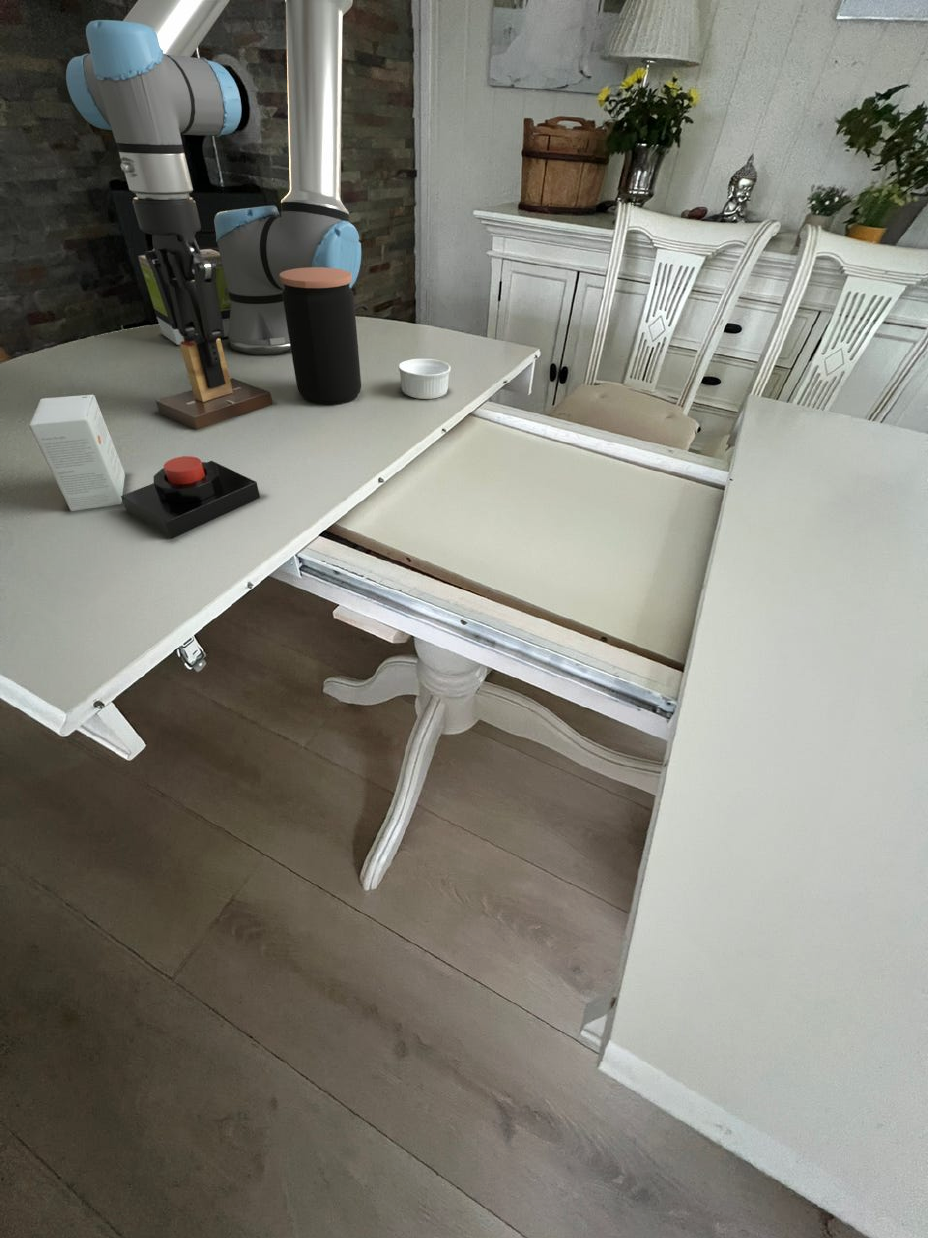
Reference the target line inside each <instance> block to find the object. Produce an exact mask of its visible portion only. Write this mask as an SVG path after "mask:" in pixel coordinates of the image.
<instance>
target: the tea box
mask: <svg viewBox="0 0 928 1238" xmlns="http://www.w3.org/2000/svg"><path fill="white" fill-rule="evenodd" d="M200 252H201V256H202V257H203V258H204V259H205V260H206V261H214V263H215V264H216V285H217V291H218V297H219V304H220V310H221V316H222V322H223V329H224V337H221V338H229V337H228V336H229V323H230V310H231V302H230V297H229V292H228V288H227V284H226V279H225V275H224V270H223V266H222V262H221V257H220V253H219V251H218V250H217V251H216V250H213V249H212V248H205V249H200ZM137 258H138V262H139V265H140V269H141V271H142V275H143V277H144V280H145V284H146V286H147V291H148V294H149V296H150V300H151V303H152V307H153V310H154V313H155V316H156V320H157V323H158V326H159V328H160V331H161V333H162V335H163V336H164V337H165V338H167V339H169V340H170V341H171V342H172V343H174V344H175V345H177V346H180V344H181V342H183V341H185V340H184V337H183V336H181V335H180V333H179V330H178V329H173V328H172V327H171V324H170V321H169V318H168V315H167V312H166V310H165V307H164V304H163V301H162V298H161V295H160V292H159V289H158V286H157V283H156V280H155V277H154V275H153V272H152V270H151V268H150V266H149V264H148V262H147V260H146V257H145V254H141V255H138V256H137ZM194 280H195V279H194ZM191 281H192V280H191ZM196 335H197V333H196ZM221 338H220V339H221Z"/></svg>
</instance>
